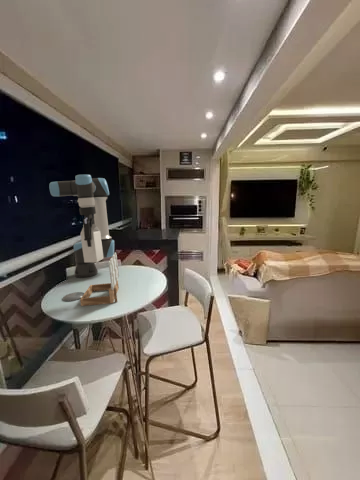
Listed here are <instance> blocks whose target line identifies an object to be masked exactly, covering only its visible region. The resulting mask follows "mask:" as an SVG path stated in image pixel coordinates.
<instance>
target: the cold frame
mask: <svg viewBox="0 0 360 480" xmlns="http://www.w3.org/2000/svg"><path fill="white" fill-rule="evenodd" d="M107 264H108V270H109V271H108V272H109V279H110V282H108V283H99V284H98V283H97V284H90V285H89V286H88V288H87V289H86V290H85V292H83V293H84V295H83V296H82V298H81V299H79V300H80V307H85V306H97V305H107V304H109V305H110V304H114V303H118V294H117V293H118V291H119V289H120V288H119V277H120V275H119V265H118V256H117V252H114V255H113V256H112V257H110V259H109V261H108V263H107ZM103 291H108V294H109V295H104V296H103V295H101V296H93V297H92V296H91V295H92V293H93V292H103Z"/></svg>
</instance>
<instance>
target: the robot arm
mask: <svg viewBox="0 0 360 480" xmlns="http://www.w3.org/2000/svg"><path fill="white" fill-rule="evenodd" d="M48 188H49V192H50V195H51V196H52V197H67V196H69V197H71V196H73V197H77V201H76V202H77V203H78V206H79V210H78V211H79V215H81V216H84V218H83V219H82V223H83V225H84V236H85V239H84V240H86V242H87V250H88V253H94V250H93V242H92V240H91V239H92V238H91V227H92V224H96V227H97V228H98V229H99V230H100V233H101V241H102V249H103V258H104V259H107V258H112V256H113V255H114V253H115V240H114V239H112V238H113V237H112V236H110V232H109V231H110V230H109V229H110V228H109V221H108V213H107V212H108V211H107V202H106V201H107V200H108V196H110V191H109V185H108V182H107V180H106V179H105V178H103V177H93V178H92V175H91V174H77V175H75V180H62V181H51V182H50V183H49V187H48ZM73 255H74V259H75V261H74V262H75V268H74V277H75V278H76V279H77V278H80V279H81V278H82V279H83V278H88V277H93V276H96V275H97V274H98V273H99V271H98V268H97V265H96V263H95V262H84V256H83V249H82V241H81V240H80V241H79V242H78V241H77V242H76V243H74V244H73Z"/></svg>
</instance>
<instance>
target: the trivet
mask: <svg viewBox="0 0 360 480" xmlns="http://www.w3.org/2000/svg"><path fill="white" fill-rule="evenodd" d="M84 293H85V292H83V291H77V292H76V291H75V292H70V293H68V294H66V295H63V297H62V300H63V301H64V302H75V301H78V300H80V299H81V298H82V296H83V295H84Z"/></svg>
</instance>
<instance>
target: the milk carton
mask: <svg viewBox="0 0 360 480" xmlns="http://www.w3.org/2000/svg"><path fill="white" fill-rule="evenodd" d="M82 226H83V227H82V228H81V231H80V242H81V241H82V249H83V256H84V262H94V263H98V262H100V261H101V260H103V259H105V258H103V249H102V241H101V233H100V230H99V229H98V228H97V227H96V224H92V227H91V238H92V239H91V240H92V242H93V250H94V253H88V250H87V242H86V240H84V239H85V236H84V224H83V225H82Z"/></svg>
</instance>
